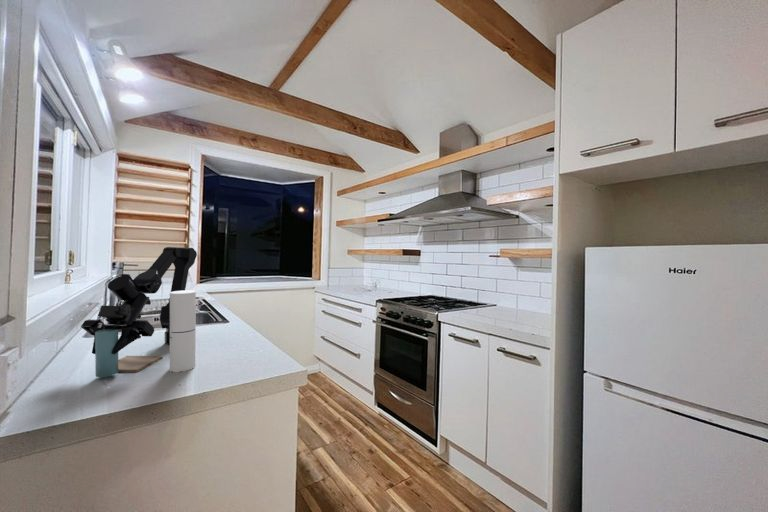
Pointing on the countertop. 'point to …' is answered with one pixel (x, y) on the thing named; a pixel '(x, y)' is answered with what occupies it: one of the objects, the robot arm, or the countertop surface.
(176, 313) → the cylindrical container
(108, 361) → the cylinder
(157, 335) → the countertop surface
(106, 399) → the countertop surface
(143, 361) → the walnut board
